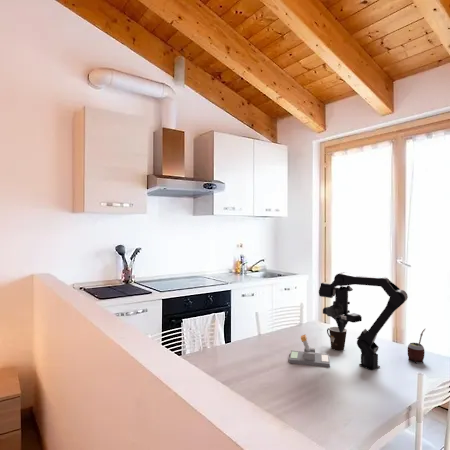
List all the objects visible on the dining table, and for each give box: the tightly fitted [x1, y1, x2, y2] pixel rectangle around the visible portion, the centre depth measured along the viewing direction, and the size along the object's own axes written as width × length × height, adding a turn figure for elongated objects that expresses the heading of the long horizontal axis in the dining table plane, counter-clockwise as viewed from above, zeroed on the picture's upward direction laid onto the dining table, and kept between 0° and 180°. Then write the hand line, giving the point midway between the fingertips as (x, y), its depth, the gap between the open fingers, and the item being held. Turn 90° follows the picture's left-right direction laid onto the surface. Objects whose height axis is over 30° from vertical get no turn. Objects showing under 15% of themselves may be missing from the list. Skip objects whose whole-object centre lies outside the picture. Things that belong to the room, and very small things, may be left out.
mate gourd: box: [407, 328, 426, 364], centre depth 166 cm, size 8×8×15 cm
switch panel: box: [288, 346, 331, 368], centre depth 165 cm, size 18×12×4 cm, turn 75°
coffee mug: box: [326, 326, 347, 352], centre depth 182 cm, size 12×9×10 cm
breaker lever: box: [300, 334, 311, 352], centre depth 166 cm, size 2×4×10 cm, turn 165°
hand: (341, 332), depth 166 cm, fingers closed
